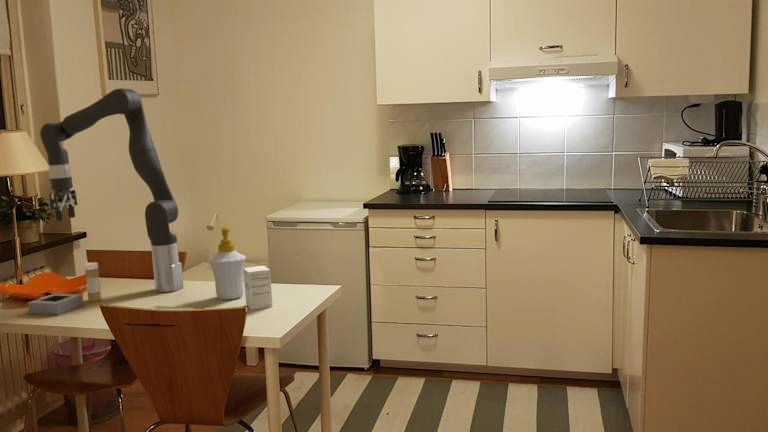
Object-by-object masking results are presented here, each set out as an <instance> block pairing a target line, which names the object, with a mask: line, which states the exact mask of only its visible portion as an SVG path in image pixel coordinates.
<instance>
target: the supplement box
mask: <svg viewBox="0 0 768 432" xmlns="http://www.w3.org/2000/svg"><path fill="white" fill-rule="evenodd" d="M271 277H272V276H271V269H270V268H268V267H267V266H265V265H258V266H257V265H256V266H252V267H244V268H243V278H244V279H243V284H244V292H245V304H246V306H247V307H249V309H250V310H251V311H254V310H259V309H266V308H273V294H272V280H271V279H272V278H271Z"/></svg>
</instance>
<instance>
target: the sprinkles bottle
mask: <svg viewBox="0 0 768 432" xmlns="http://www.w3.org/2000/svg"><path fill="white" fill-rule="evenodd" d="M83 269H84V272H85V282H86V291H87V301H88V302H92V303H94V302H98V301H101V300H102V296H101V295H102V293H101V290H102V289H101V283H100V274H99V263H98V262H96V261H95V262H94V261H93V262H86V263H85V264H84V265H83Z"/></svg>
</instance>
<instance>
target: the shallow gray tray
mask: <svg viewBox="0 0 768 432" xmlns="http://www.w3.org/2000/svg"><path fill="white" fill-rule="evenodd" d="M81 307H84V298H83V294H79V293H78V294H76V293H75V294H74V293H57V292H56V293H55V292H54V293H51V295H48V296H45V297H41V298H39V299H37V300H36V299H34V300H31V301H28V302H27V308H28V309H27V310H28V315H34V316H35V315H38V316H39V315H40V316H55V317H59V316H61V315H64V314H67V313H68V312H72V311H74V310H77V309H79V308H81Z"/></svg>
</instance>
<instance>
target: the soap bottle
mask: <svg viewBox="0 0 768 432" xmlns="http://www.w3.org/2000/svg"><path fill="white" fill-rule="evenodd" d="M220 229H221V235H222V238H223V239H220V244H218V245H217V249H218V252H217V253H216V254H214V255H213V256H212V257H210V258H208V263H209V265H210V267H211V270H212V275H213V277H214V282H215V283H214V284H215V294H216V296H217V298H218V299H220V300H226V301H228V300H229V299H230V300H235V299H238V298H241V297H242V296H243V295H244V292H245V288H244V279H243V278H244V270H243V268H245V262H246V259H247V257H246V255H244V254H242V253H239V252H238V251H237V250H235V243H232V240H231V238H228V236H229V232H230V230H231V229H230V228H229V227H228V226H224V225H223V226H220Z"/></svg>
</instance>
